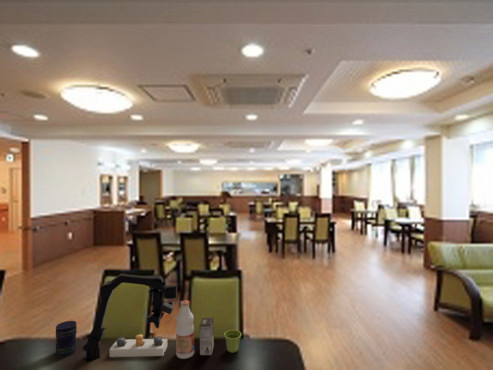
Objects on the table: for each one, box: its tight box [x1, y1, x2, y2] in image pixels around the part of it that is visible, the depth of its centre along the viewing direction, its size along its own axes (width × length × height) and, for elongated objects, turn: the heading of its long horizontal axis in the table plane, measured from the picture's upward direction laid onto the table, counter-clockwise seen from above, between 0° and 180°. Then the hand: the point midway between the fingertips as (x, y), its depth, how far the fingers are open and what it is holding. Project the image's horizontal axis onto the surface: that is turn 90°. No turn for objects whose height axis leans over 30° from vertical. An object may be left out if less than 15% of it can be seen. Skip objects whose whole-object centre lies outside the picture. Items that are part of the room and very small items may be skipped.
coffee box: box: [199, 317, 215, 356], centre depth 163 cm, size 9×6×16 cm
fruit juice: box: [175, 299, 195, 360], centre depth 160 cm, size 9×9×28 cm
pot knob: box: [135, 334, 144, 346], centre depth 163 cm, size 4×4×5 cm
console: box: [109, 338, 168, 358], centre depth 163 cm, size 28×10×4 cm, turn 92°
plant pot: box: [224, 329, 242, 353], centre depth 164 cm, size 9×9×9 cm
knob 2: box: [153, 336, 163, 346], centre depth 163 cm, size 4×4×3 cm
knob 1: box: [115, 336, 126, 347], centre depth 163 cm, size 4×4×3 cm
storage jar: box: [55, 320, 78, 358], centre depth 163 cm, size 10×10×15 cm
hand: (157, 328), depth 163 cm, fingers closed
